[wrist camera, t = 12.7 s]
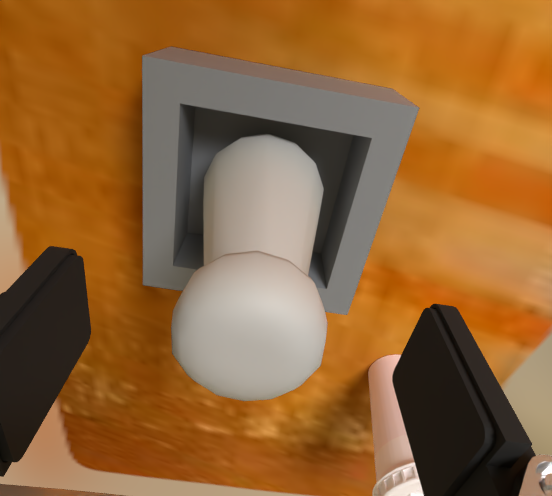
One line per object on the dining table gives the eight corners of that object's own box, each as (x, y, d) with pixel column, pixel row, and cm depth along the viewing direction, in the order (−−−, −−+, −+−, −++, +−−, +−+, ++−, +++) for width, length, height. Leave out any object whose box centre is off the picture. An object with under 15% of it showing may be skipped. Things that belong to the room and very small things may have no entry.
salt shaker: (200, 207, 22) (115, 406, 11) (226, 106, 19) (146, 237, 8) (298, 236, 23) (311, 449, 12) (336, 144, 20) (402, 309, 9)
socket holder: (171, 46, 19) (142, 55, 15) (392, 88, 20) (419, 107, 16) (165, 242, 24) (142, 285, 21) (337, 268, 25) (347, 314, 21)
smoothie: (396, 409, 32) (463, 643, 20) (333, 380, 31) (365, 617, 19) (453, 363, 30) (570, 604, 18) (387, 328, 28) (465, 568, 16)
